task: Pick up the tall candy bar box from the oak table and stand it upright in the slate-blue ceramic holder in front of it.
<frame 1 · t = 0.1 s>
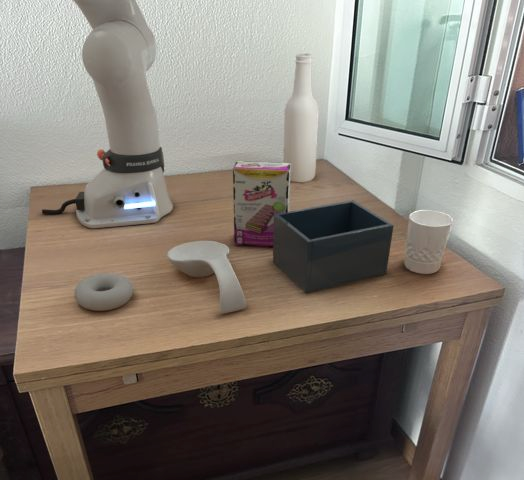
donut: (105, 300, 96), on the table
white cup: (421, 267, 106), on the table
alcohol: (299, 178, 149), on the table
holder: (328, 268, 106), on the table
spoon rest: (210, 283, 101), on the table
candy bar box: (261, 243, 115), on the table
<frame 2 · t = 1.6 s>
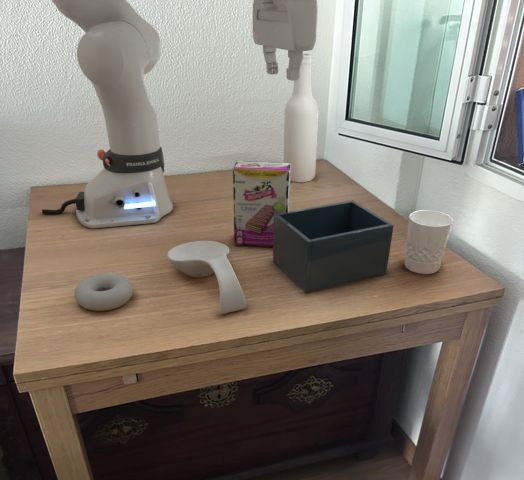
hand: (282, 76, 96), 32 cm above the table, tool pointing down, fingers open, 8 cm apart
nothing on the table moved.
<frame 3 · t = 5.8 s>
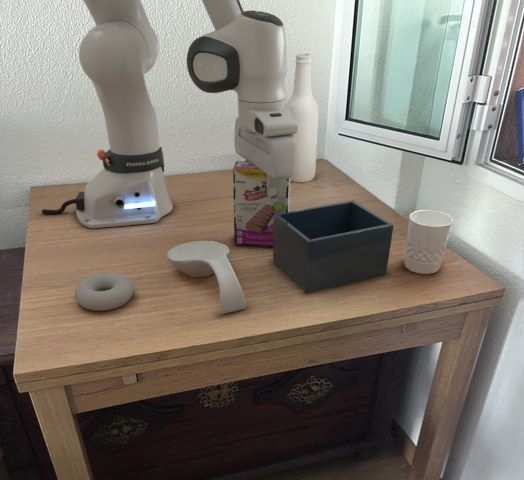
hand: (262, 188, 108), 12 cm above the table, tool pointing down, fingers closed on candy bar box, 6 cm apart
candy bar box: (261, 243, 115), on the table, touching gripper
everything else where it was.
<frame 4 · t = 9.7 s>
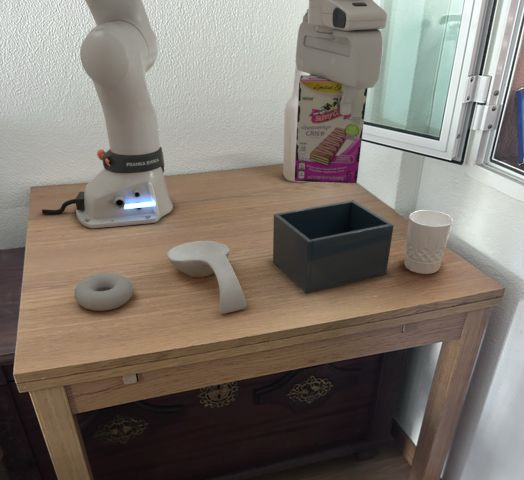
hand: (331, 109, 90), 29 cm above the table, tool pointing down, fingers closed on candy bar box, 6 cm apart
candy bar box: (325, 180, 97), point 17 cm above the table, touching gripper
everything else where it was.
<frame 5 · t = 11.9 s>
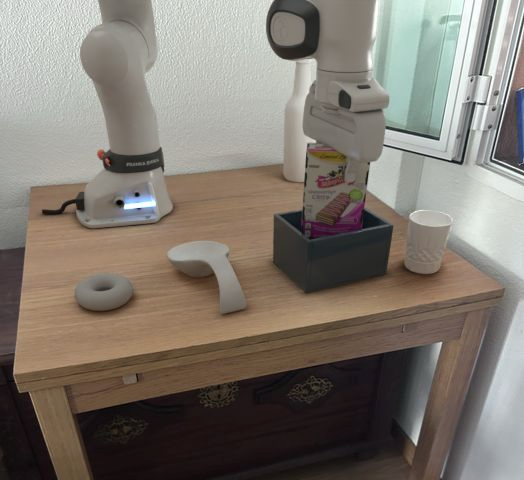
hand: (336, 174, 95), 18 cm above the table, tool pointing down, fingers closed on candy bar box, 6 cm apart
candy bar box: (330, 237, 102), point 6 cm above the table, touching gripper
everything else where it was.
when the fingers open (13 cm above the table, at t = 13.8 s): candy bar box stays where it is, resting on holder.
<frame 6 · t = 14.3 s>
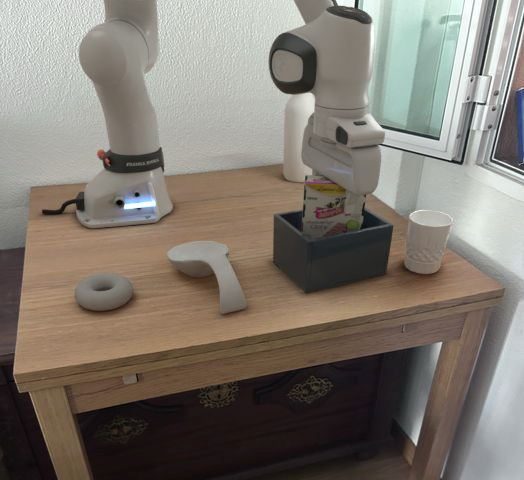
hand: (333, 203, 98), 13 cm above the table, tool pointing down, fingers open, 8 cm apart
candy bar box: (328, 264, 105), point 1 cm above the table, touching holder
everything else where it was.
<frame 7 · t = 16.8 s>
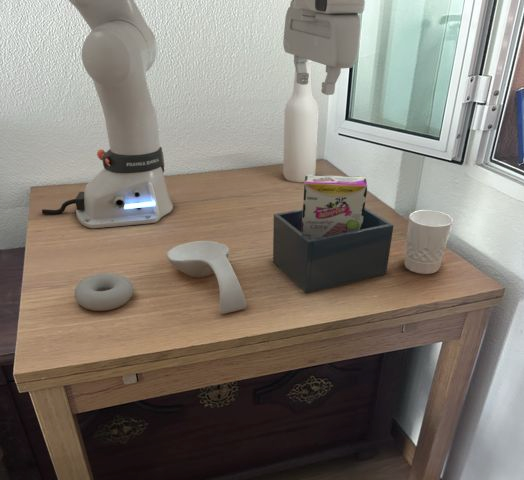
hand: (314, 88, 97), 30 cm above the table, tool pointing down, fingers open, 8 cm apart
nothing on the table moved.
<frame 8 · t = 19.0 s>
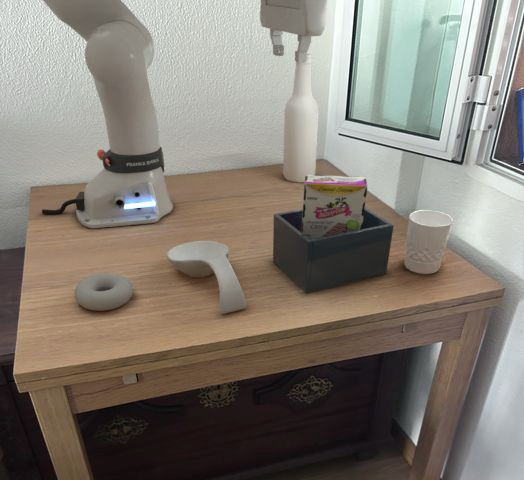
hand: (289, 58, 106), 33 cm above the table, tool pointing down, fingers open, 8 cm apart
nothing on the table moved.
at the end: candy bar box inside the target area in the holder (0.1 cm from its centre), point 0.8 cm above the holder's base; candy bar box tilted 0°; the gripper is holding nothing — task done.
